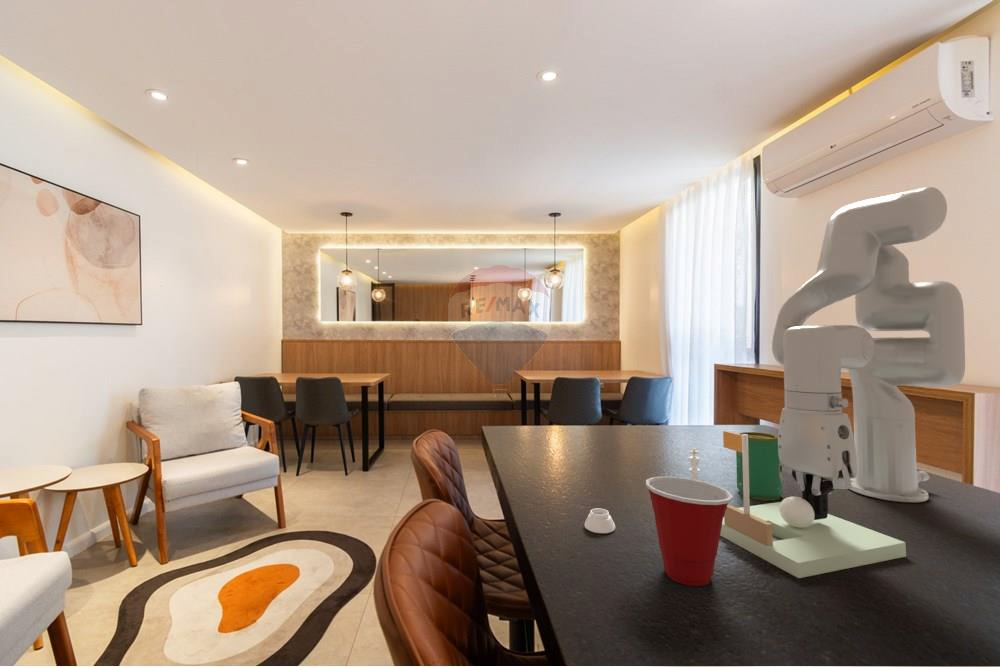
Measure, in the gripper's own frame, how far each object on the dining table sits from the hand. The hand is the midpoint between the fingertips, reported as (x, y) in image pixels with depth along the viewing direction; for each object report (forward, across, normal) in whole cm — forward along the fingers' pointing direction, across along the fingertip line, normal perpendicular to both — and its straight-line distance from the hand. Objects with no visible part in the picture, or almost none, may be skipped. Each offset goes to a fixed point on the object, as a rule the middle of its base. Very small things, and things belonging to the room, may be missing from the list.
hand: (815, 517), depth 71 cm
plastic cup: (+3, -4, +27) cm, 28 cm away
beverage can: (+3, +18, -8) cm, 20 cm away
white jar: (+4, +13, +31) cm, 34 cm away
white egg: (-1, 0, +4) cm, 4 cm away
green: (+3, 0, +4) cm, 5 cm away
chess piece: (+3, +20, +6) cm, 21 cm away
